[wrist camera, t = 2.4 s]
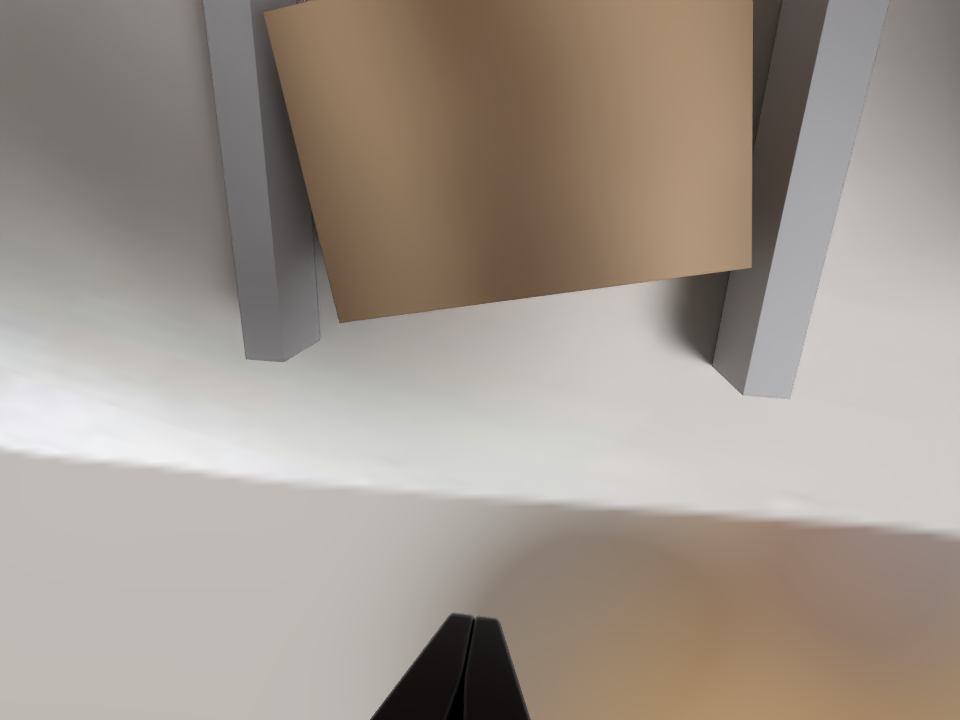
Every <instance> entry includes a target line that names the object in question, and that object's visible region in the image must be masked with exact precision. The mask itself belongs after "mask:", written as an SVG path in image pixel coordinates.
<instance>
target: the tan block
mask: <svg viewBox="0 0 960 720" xmlns="http://www.w3.org/2000/svg"><path fill="white" fill-rule="evenodd" d="M263 13H264V17H265V21H266V25H267V29H268V33H269V38H270V42H271V46H272V50H273V54H274V58H275V62H276V66H277V70H278V74H279V78H280V82H281V86H282V91H283V95H284V99H285V103H286V107H287V111H288V115H289V119H290V123H291V127H292V131H293V135H294V140H295V144H296V148H297V152H298V156H299V160H300V164H301V168H302V172H303V176H304V180H305V184H306V188H307V193H308V197H309V201H310V205H311V209H312V213H313V217H314V221H315V225H316V229H317V233H318V237H319V242H320V246H321V250H322V254H323V258H324V262H325V266H326V270H327V274H328V278H329V282H330V286H331V290H332V295H333V299H334V303H335V307H336V311H337V315H338V319H339V323H343V322H350V321H358V320H365V319H373V318H380V317H388V316H395V315H403V314H410V313H418V312H425V311H432V310H440V309H447V308H455V307H462V306H470V305H477V304H485V303H492V302H500V301H507V300H515V299H522V298H530V297H537V296H545V295H552V294H559V293H567V292H574V291H582V290H589V289H597V288H604V287H612V286H619V285H627V284H634V283H642V282H649V281H657V280H664V279H672V278H679V277H687V276H694V275H701V274H709V273H716V272H724V271H731V270H739V269H746V268H752V101H753V0H311V1H307V2H303V3H299V4H295V5H291V6H287V7H283V8H279V9H275V10H271V11H267V12H263Z"/></svg>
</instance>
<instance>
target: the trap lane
mask: <svg viewBox="0 0 960 720" xmlns="http://www.w3.org/2000/svg"><path fill="white" fill-rule="evenodd" d="M889 2H890V0H782V5H781V11H780V16H779V21H778V26H777V31H776V37H775V42H774V47H773V52H772V57H771V63H770V68H769V73H768V78H767V83H766V89H765V94H764V99H763V104H762V109H761V114H760V120H759V125H758V130H757V135H756V140H755V146H754V151H753V156H752V268H746V269H739V270H731V271H730V275H729V281H728V286H727V291H726V296H725V301H724V307H723V312H722V317H721V322H720V327H719V333H718V338H717V343H716V348H715V353H714V359H713V364H712V367H713V368H714V369H715V370H716V371H718V372H719V373H720V374H721V375H722V376H723V377H724V378H725V379H726V380H727V381H728V382H729V383H730V384H731V385H732V386H733V387H735V388H736V389H737V390H738V391H739V392H740V393H741V394H742V395H743V396H757V397H770V398H784V399H790V397H791V393H792V389H793V385H794V381H795V377H796V373H797V369H798V365H799V361H800V357H801V353H802V349H803V345H804V341H805V337H806V333H807V329H808V325H809V321H810V317H811V313H812V309H813V305H814V301H815V297H816V293H817V289H818V285H819V281H820V277H821V273H822V269H823V265H824V261H825V257H826V253H827V249H828V245H829V241H830V237H831V233H832V229H833V225H834V221H835V217H836V213H837V209H838V205H839V201H840V197H841V193H842V189H843V185H844V181H845V177H846V173H847V169H848V165H849V161H850V157H851V153H852V149H853V145H854V141H855V137H856V133H857V129H858V125H859V122H860V118H861V114H862V110H863V106H864V102H865V98H866V94H867V90H868V86H869V82H870V78H871V74H872V70H873V66H874V62H875V58H876V54H877V50H878V46H879V42H880V38H881V34H882V30H883V26H884V22H885V18H886V14H887V10H888V6H889ZM295 4H297V0H203V6H204V14H205V22H206V31H207V39H208V47H209V56H210V64H211V72H212V81H213V89H214V98H215V106H216V114H217V123H218V131H219V139H220V148H221V156H222V164H223V173H224V181H225V189H226V198H227V206H228V214H229V223H230V231H231V239H232V248H233V256H234V264H235V273H236V281H237V289H238V298H239V306H240V314H241V323H242V331H243V340H244V348H245V356H246V359H250V360H263V361H277V362H285V361H287V360H288V359H290V358H291V357H293V356H295V355H296V354H298V353H299V352H301V351H303V350H304V349H306V348H308V347H309V346H311V345H312V344H314V343H316V342H317V341H319V340H320V331H319V316H318V302H317V287H316V273H315V259H314V244H313V230H312V215H311V205H310V201H309V197H308V193H307V188H306V184H305V180H304V176H303V172H302V168H301V164H300V160H299V156H298V152H297V148H296V144H295V140H294V135H293V131H292V127H291V123H290V119H289V115H288V111H287V107H286V103H285V99H284V95H283V91H282V86H281V82H280V78H279V74H278V70H277V66H276V62H275V58H274V54H273V50H272V46H271V42H270V38H269V33H268V29H267V25H266V21H265V17H264V13H263V12H267V11H271V10H275V9H279V8H283V7H287V6H291V5H295Z"/></svg>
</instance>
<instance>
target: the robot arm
mask: <svg viewBox="0 0 960 720" xmlns="http://www.w3.org/2000/svg"><path fill="white" fill-rule="evenodd" d="M370 720H531V719H530V716H529V713H528V710H527V707H526V704H525V701H524V697H523V694H522V691H521V688H520V684H519V681H518V678H517V675H516V672H515V669H514V665H513V662H512V659H511V656H510V653H509V650H508V646H507V644H506V640H505V637H504V634H503V631H502V627H501V624H500V622H499V620H498V619H497V618H494V617H486V616H477V617H476V618H475V619H474V617H473V616H472V615H470V614H461V613H452V614H450V615H449V616H448V618H447V619H446V620H445V622H444V623H443V624H442V626H441V627H440V628H439V630H438V631H437V632H436V634H435V635H434V636H433V637H432V639H431V640H430V641H429V643H428V644H427V646H426V647H425V648H424V649H423V651H422V652H421V653H420V655H419V656H418V657H417V659H416V660H415V661H414V662H413V664H412V665H411V667H410V668H409V669H408V670H407V672H406V673H405V674H404V676H403V677H402V678H401V680H400V681H399V682H398V684H397V685H396V686H395V687H394V689H393V690H392V691H391V693H390V694H389V695H388V697H387V698H386V699H385V701H384V702H383V703H382V705H381V706H380V707H379V709H378V710H377V711H376V712H375V714H374V715H373V716H372V718H371V719H370Z"/></svg>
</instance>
